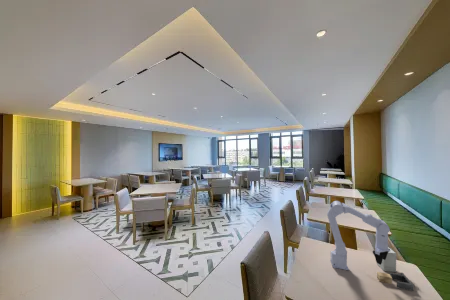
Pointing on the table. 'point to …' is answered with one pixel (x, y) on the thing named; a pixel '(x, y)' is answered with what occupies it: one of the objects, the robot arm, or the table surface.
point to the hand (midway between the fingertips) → (381, 261)
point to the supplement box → (389, 262)
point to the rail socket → (402, 285)
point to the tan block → (384, 277)
